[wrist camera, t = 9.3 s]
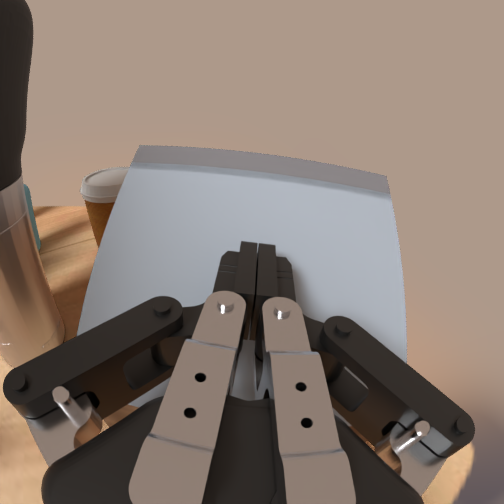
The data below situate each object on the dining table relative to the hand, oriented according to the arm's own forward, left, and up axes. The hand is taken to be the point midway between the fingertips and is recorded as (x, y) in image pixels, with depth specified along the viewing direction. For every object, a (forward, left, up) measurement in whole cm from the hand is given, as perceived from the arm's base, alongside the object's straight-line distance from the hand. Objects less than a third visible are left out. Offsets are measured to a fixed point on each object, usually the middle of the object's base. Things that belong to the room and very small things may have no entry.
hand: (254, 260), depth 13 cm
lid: (0, +2, -3) cm, 3 cm away
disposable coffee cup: (-19, +22, -16) cm, 33 cm away
